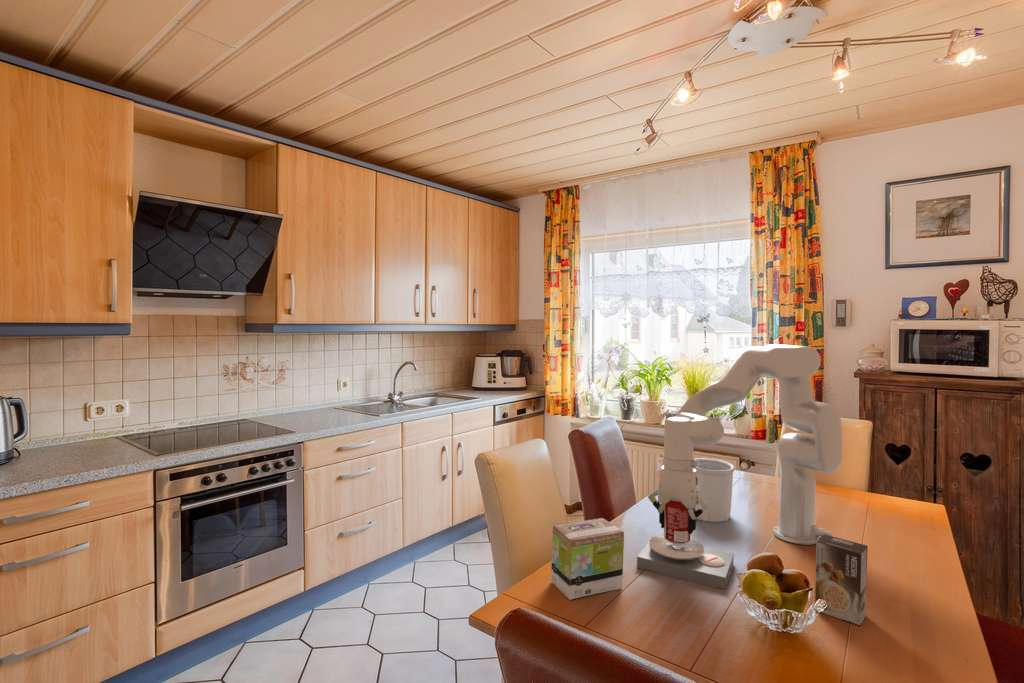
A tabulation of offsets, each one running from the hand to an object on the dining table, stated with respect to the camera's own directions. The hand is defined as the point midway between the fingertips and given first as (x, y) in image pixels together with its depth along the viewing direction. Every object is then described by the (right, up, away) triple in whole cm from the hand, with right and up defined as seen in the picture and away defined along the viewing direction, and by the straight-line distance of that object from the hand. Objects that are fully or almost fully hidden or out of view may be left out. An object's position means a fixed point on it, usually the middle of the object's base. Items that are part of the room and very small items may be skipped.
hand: (677, 528), depth 142 cm
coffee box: (+30, -11, -23) cm, 39 cm away
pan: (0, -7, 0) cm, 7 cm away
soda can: (0, -3, 0) cm, 3 cm away
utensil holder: (+22, -8, +36) cm, 43 cm away
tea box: (-26, -10, -11) cm, 30 cm away
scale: (+2, -10, -1) cm, 10 cm away
